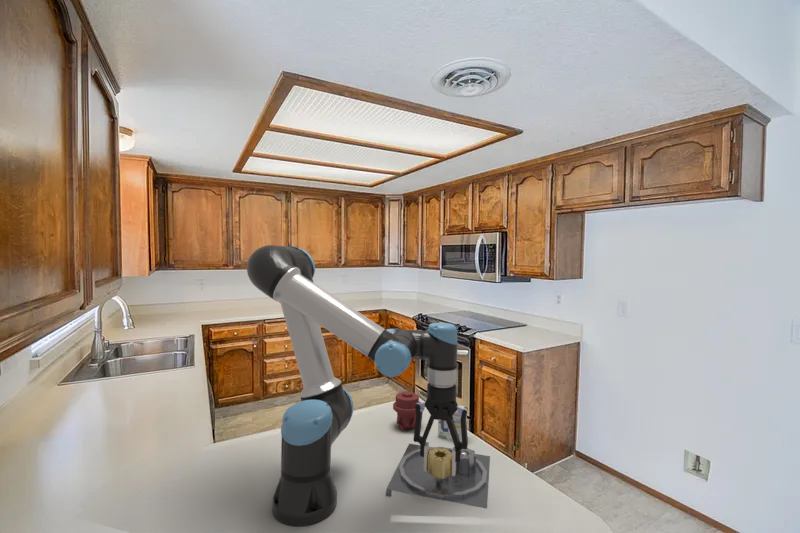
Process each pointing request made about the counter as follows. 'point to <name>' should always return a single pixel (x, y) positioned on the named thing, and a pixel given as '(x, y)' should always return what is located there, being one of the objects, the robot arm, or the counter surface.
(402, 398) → the mechanical component
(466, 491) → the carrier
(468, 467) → the seated gear
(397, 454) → the counter surface
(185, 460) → the counter surface
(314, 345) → the robot arm
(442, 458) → the planet gear
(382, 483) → the counter surface
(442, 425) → the ink box
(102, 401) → the counter surface
